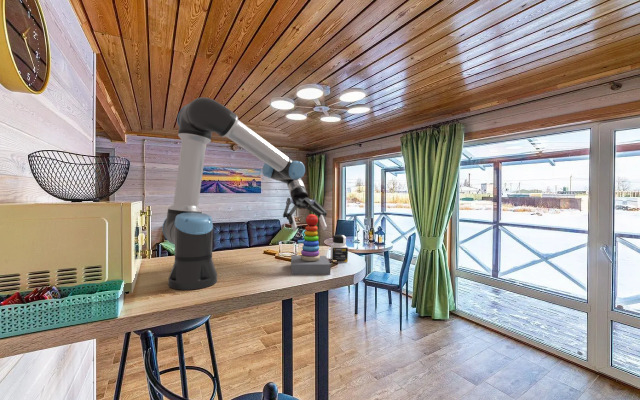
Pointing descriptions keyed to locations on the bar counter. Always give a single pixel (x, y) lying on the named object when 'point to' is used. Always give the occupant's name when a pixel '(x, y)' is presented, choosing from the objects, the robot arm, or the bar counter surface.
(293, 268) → the charcoal plinth
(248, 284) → the bar counter surface
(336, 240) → the medicine bottle
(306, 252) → the stacking toy
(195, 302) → the bar counter surface
